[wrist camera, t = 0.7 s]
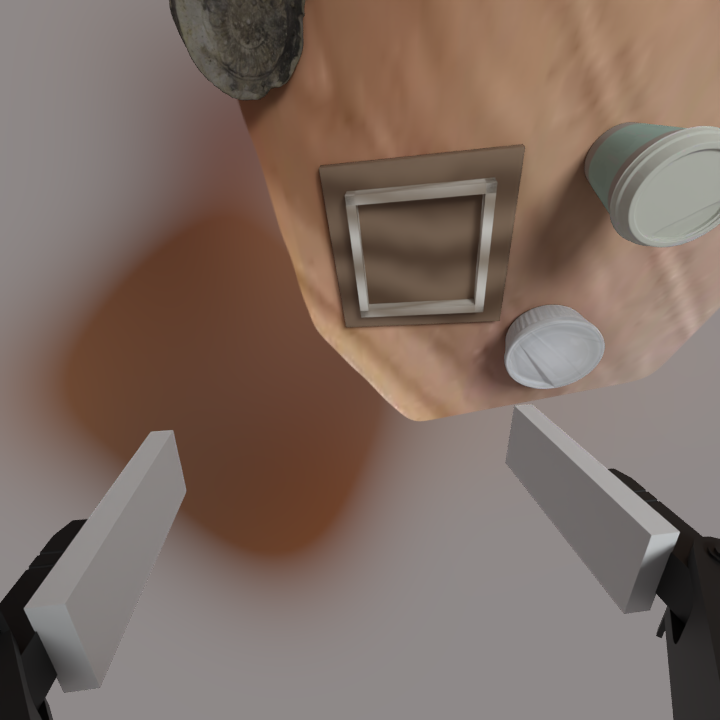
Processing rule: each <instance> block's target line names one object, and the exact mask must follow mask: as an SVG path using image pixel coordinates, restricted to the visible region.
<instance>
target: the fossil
mask: <svg viewBox="0 0 720 720" xmlns="http://www.w3.org/2000/svg"><path fill="white" fill-rule="evenodd" d="M169 2H170V3H169V4H170V10H171V14H172V16H173V20H174V22H175V24H176V27H177V29H178V32H179V34H180V36H181V38H182V40H183V42H184V44H185V46H186V48H187V50H188V52H189V54H190V57H191V59H192V60H193V62H194V63H195V65H196V66H197V68H198V69H199V70H200V72H201V73H202V74H203V75H204V76H205V77H206V78H207V79H208V80H209V81H211V82H212V83H213V84H214V86H216V87H218V88H219V89H220V90H221V91H222V92H224V93H226V94H228V95H229V96H231V97H232V98H236V99H239V100H259V99H261V98H262V97H264V96H265V95H266V94H267V93H268V92H269V90H270V89H272V88H274V87H277V88H278V87H281V86H282V85H284V84H286V83H287V82H288V81H289V79H290V77H291V75H292V73H293V71H294V70H295V67H296V65H297V63H298V61H299V59H300V56H301V53H302V49H303V17H304V16H305V13H304V5H305V0H169Z"/></svg>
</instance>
